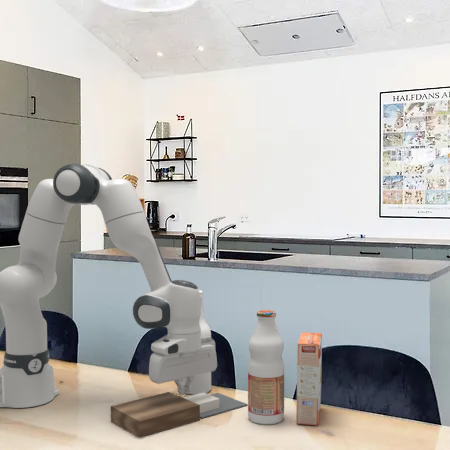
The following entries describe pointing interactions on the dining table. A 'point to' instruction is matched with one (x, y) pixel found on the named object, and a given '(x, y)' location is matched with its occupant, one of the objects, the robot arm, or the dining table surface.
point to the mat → (223, 405)
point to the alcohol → (203, 380)
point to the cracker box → (309, 378)
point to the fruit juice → (266, 371)
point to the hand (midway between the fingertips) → (184, 393)
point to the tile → (204, 401)
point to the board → (154, 414)
